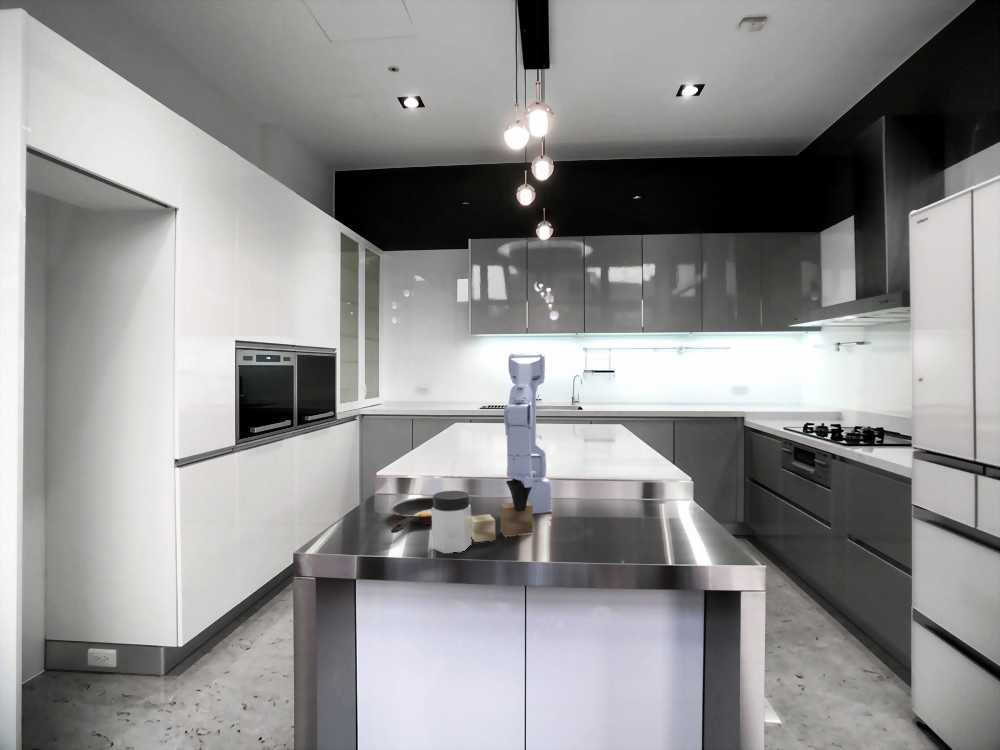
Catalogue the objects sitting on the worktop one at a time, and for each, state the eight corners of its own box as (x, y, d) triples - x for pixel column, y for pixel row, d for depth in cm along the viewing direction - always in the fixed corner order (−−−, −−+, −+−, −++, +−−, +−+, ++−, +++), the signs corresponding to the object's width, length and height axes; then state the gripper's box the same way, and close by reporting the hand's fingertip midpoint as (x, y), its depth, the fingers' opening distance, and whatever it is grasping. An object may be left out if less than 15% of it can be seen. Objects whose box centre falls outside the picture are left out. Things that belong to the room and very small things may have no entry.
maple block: (490, 534, 130) (489, 514, 130) (495, 541, 125) (495, 520, 125) (469, 536, 129) (469, 516, 128) (474, 543, 124) (474, 522, 124)
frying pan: (467, 508, 153) (467, 495, 153) (433, 547, 122) (432, 531, 121) (405, 506, 156) (404, 494, 156) (356, 543, 125) (355, 528, 125)
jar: (434, 555, 116) (433, 500, 116) (430, 543, 124) (429, 492, 124) (474, 551, 118) (473, 497, 118) (468, 539, 126) (467, 489, 126)
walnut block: (527, 529, 134) (527, 501, 133) (532, 534, 130) (532, 505, 130) (500, 531, 132) (500, 503, 131) (505, 537, 128) (504, 508, 128)
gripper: (545, 458, 121) (546, 517, 122) (525, 448, 135) (526, 501, 136) (516, 460, 119) (517, 520, 120) (498, 450, 133) (499, 503, 134)
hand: (520, 510), depth 128 cm, fingers closed
